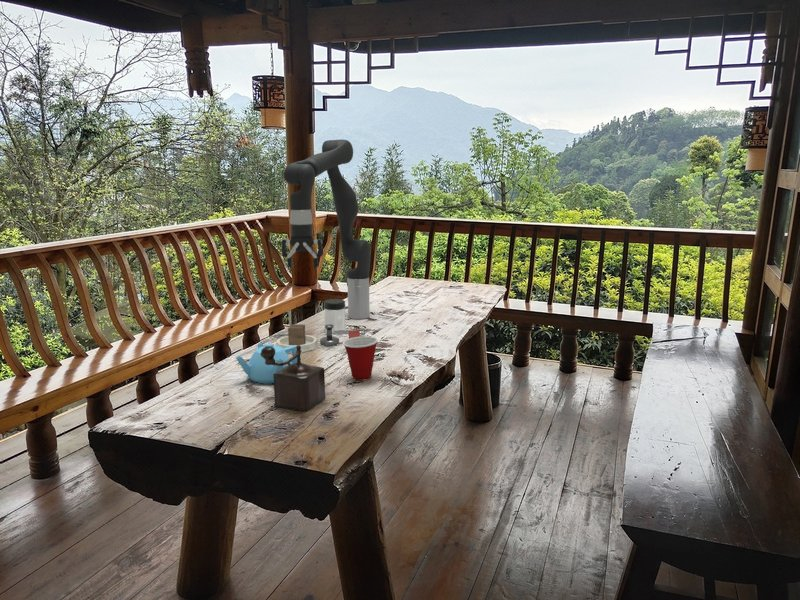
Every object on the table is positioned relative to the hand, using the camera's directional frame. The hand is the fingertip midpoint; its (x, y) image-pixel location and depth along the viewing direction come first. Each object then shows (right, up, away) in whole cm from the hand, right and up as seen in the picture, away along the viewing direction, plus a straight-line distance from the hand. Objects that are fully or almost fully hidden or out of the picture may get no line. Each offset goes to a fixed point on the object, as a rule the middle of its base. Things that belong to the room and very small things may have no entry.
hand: (303, 268), depth 212 cm
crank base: (+9, -27, +7) cm, 29 cm away
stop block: (-3, -27, +3) cm, 28 cm away
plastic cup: (+22, -35, -28) cm, 50 cm away
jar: (+9, -24, +24) cm, 35 cm away
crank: (+15, -26, +8) cm, 31 cm away
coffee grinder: (+6, -40, -49) cm, 64 cm away
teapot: (-6, -35, -27) cm, 45 cm away
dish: (-3, -28, +3) cm, 28 cm away
